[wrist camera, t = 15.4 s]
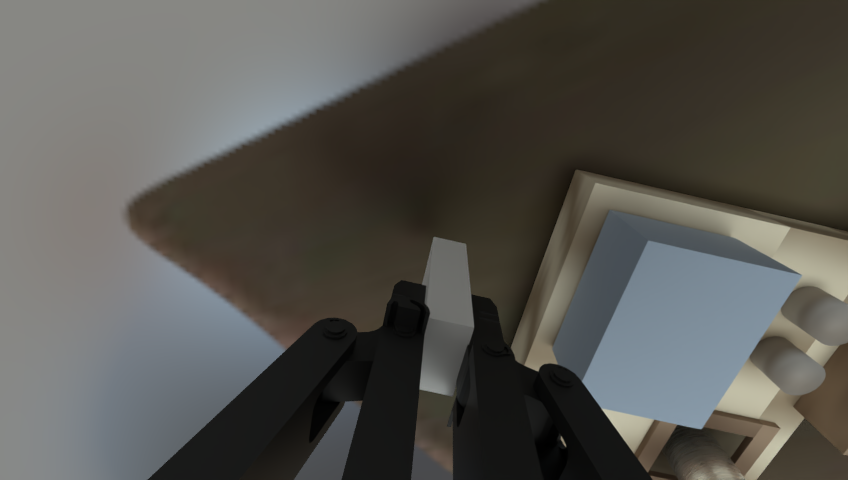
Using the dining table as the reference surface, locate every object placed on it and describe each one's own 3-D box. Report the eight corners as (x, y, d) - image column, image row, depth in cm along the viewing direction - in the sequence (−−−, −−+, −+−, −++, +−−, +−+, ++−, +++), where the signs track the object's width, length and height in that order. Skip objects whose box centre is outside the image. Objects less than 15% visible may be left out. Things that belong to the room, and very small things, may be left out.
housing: (609, 209, 18) (648, 240, 15) (734, 237, 18) (802, 275, 15) (551, 348, 21) (572, 402, 18) (659, 372, 21) (701, 429, 18)
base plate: (575, 169, 21) (622, 201, 15) (865, 235, 21) (1014, 290, 16) (484, 420, 28) (492, 506, 22) (704, 466, 28) (768, 563, 22)
